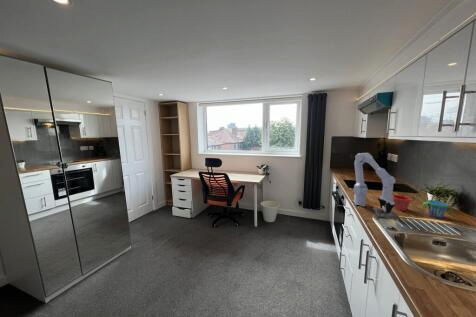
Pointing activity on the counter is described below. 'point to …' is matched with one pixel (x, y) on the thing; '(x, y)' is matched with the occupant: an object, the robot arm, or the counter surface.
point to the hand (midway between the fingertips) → (385, 210)
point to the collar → (385, 214)
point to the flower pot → (401, 202)
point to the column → (384, 209)
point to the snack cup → (436, 208)
